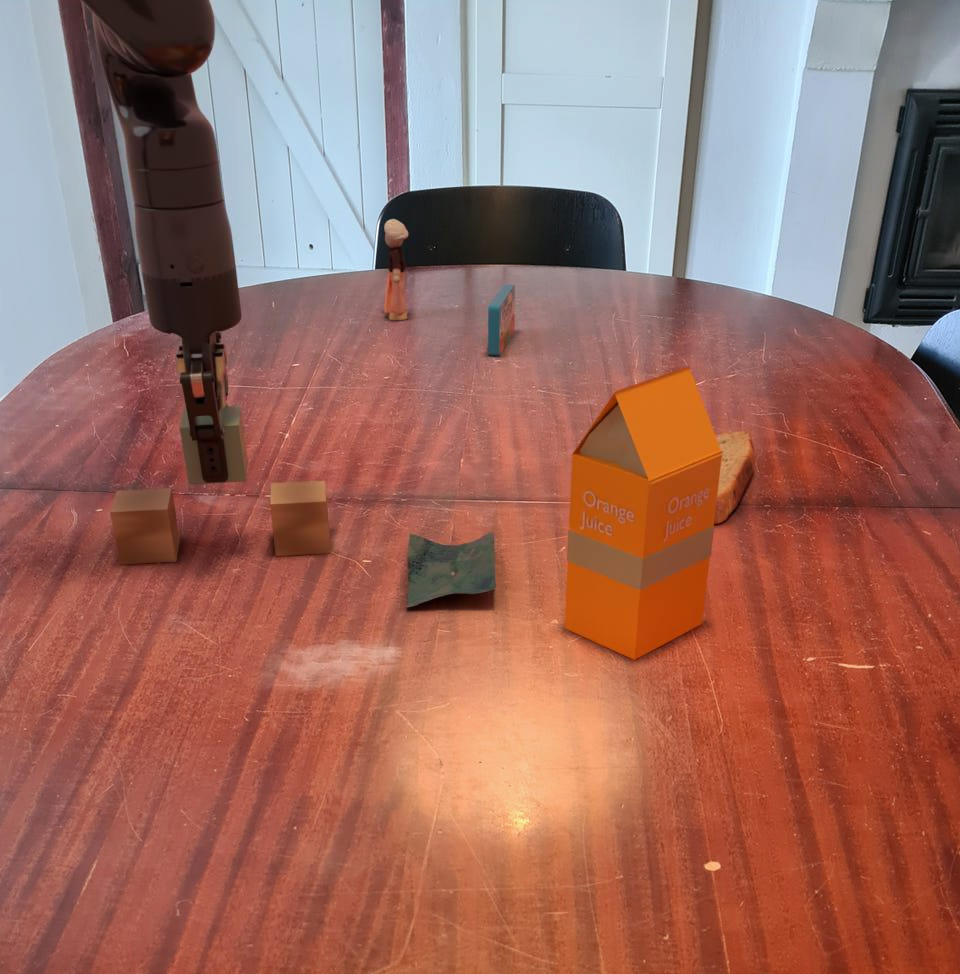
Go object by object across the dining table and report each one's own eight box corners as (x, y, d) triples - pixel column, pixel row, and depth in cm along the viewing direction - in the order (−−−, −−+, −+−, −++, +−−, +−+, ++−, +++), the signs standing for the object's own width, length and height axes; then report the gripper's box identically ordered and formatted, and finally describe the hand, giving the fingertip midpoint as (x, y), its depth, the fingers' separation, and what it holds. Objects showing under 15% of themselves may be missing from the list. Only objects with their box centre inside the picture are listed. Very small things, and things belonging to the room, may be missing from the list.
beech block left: (120, 564, 112) (109, 511, 109) (126, 542, 116) (116, 490, 113) (176, 561, 112) (167, 509, 109) (180, 539, 116) (171, 487, 113)
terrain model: (497, 608, 104) (496, 587, 103) (405, 612, 104) (403, 592, 103) (494, 545, 114) (493, 526, 113) (411, 550, 114) (409, 530, 113)
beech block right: (275, 556, 113) (269, 503, 110) (276, 534, 117) (270, 482, 114) (330, 553, 113) (326, 501, 110) (329, 531, 117) (325, 480, 114)
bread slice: (695, 531, 117) (700, 493, 115) (580, 473, 129) (582, 437, 126) (830, 491, 125) (836, 454, 122) (710, 439, 137) (714, 405, 134)
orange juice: (703, 624, 102) (733, 376, 90) (634, 660, 97) (656, 404, 85) (631, 594, 107) (650, 354, 94) (562, 627, 102) (572, 379, 89)
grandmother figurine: (381, 310, 179) (376, 214, 172) (407, 309, 180) (403, 213, 172) (387, 325, 174) (383, 226, 166) (414, 323, 174) (411, 224, 166)
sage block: (188, 484, 108) (179, 427, 105) (192, 464, 112) (183, 408, 109) (246, 481, 108) (238, 424, 105) (247, 461, 112) (240, 405, 109)
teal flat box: (503, 331, 171) (504, 283, 167) (514, 331, 171) (514, 283, 167) (488, 356, 162) (488, 306, 158) (499, 356, 161) (499, 306, 158)
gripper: (149, 244, 105) (180, 443, 115) (131, 287, 94) (168, 502, 104) (238, 241, 105) (261, 439, 116) (231, 283, 94) (258, 498, 105)
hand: (217, 468), depth 110 cm, fingers closed on sage block, 5 cm apart
